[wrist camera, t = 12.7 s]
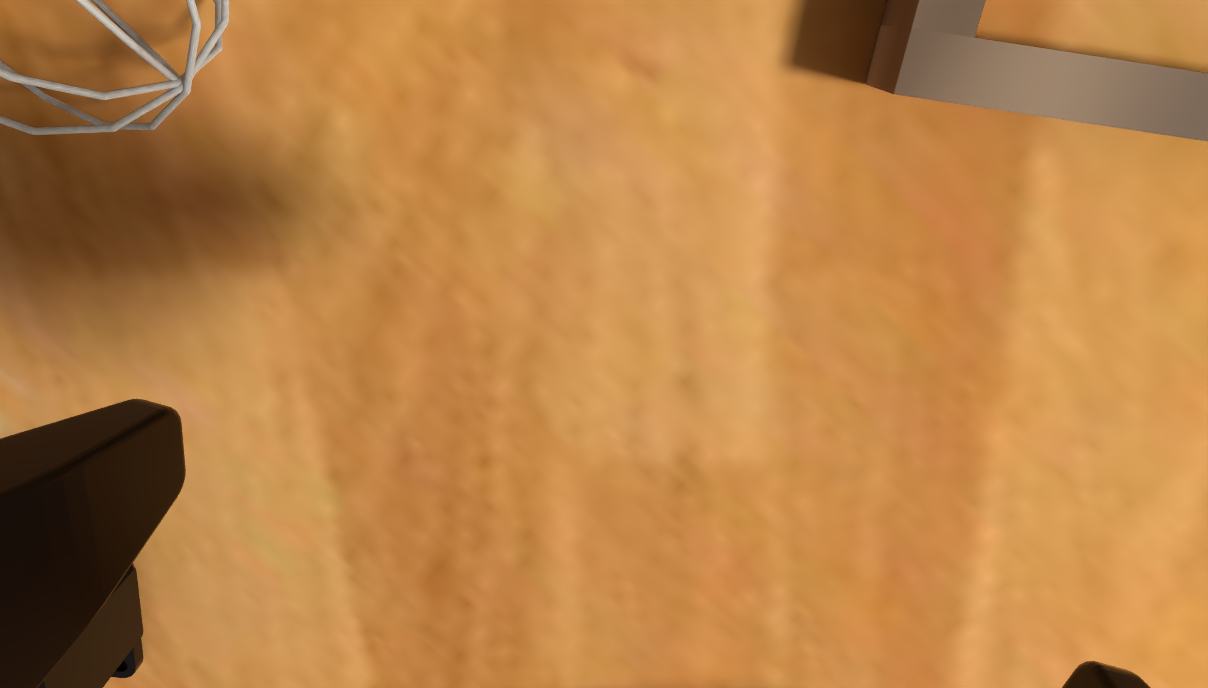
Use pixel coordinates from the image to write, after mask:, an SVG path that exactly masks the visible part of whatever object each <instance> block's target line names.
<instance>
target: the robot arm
mask: <svg viewBox="0 0 1208 688" xmlns="http://www.w3.org/2000/svg"><path fill="white" fill-rule="evenodd" d="M185 470H186V469H185V458H184V447H183V435H182V424H181V418H180V416H179V414H178V412H177V411H176V410H174V409H173V408H171V407H168V406H165V405H161V404H158V403H154V402H150V401H147V400H142V399H131V400H127V401H124V402H121V403H117V404H114V405H111V406H107V407H104V408H101V409H97V410H94V411H91V412H87V413H84V414H81V415H77V416H74V417H71V418H67V419H64V420H61V421H57V422H54V423H51V424H48V425H44V426H41V427H38V428H34V429H31V430H28V431H24V432H21V433H18V434H14V435H11V436H8V437H4V438H1V439H0V688H103V687H104V685H105V684H106V683H107V681H108V680H109V679H110V677H117V678H127V677H130V676H132V675H133V674H134V673H135V672H136V670H137V669H138V667H139V666H140V665H141V663H142V662H143V650H142V642H141V637H142V635H143V625H142V617H141V608H140V599H139V590H138V582H137V573H136V569H135V567H134V565H133V562H134V560H135V559H136V557H137V556H138V554H139V553H140V551H141V550H142V548H143V547H144V545H145V544H146V542H147V541H148V539H149V538H150V536H151V535H152V534H153V532H154V531H155V529H156V528H157V526H158V525H159V523H160V522H161V520H162V519H163V517H164V516H165V514H166V513H167V511H168V510H169V508H170V507H171V506H172V504H173V503H174V501H175V500H176V498H177V496H178V495H179V493H180V491H181V489H182V486H183V483H184V480H185ZM1062 688H1150V687H1149V686H1148V685H1147V684H1146V683H1145V682H1144V681H1143V680H1142V679H1141V678H1140V677H1139V676H1138V675H1136V674H1134V673H1132V672H1130V671H1128V670H1125V669H1121V668H1117V667H1114V666H1110V665H1107V664H1103V663H1099V662H1095V661H1087V662H1084V663H1082V664H1081V665H1079V666H1078V667H1077V668H1076V669H1075V671H1074V672H1073V673H1072V675H1071V676H1070V677H1069V679H1068V680H1067V681H1066V683H1065V684H1064V685H1063V687H1062Z"/></svg>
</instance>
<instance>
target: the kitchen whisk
mask: <svg viewBox="0 0 1208 688" xmlns="http://www.w3.org/2000/svg"><path fill="white" fill-rule="evenodd" d="M76 1H77V2H78V3H79V4H80V5H82V6H83V7H84V8H85V9H86V10H87V11H88V12H90V13H91V14H92V15H93V16H94V17H95V18H97V19H98V20H99V21H100V22H101V23H102V24H103V25H105V26H106V27H107V28H108V29H109V30H110V31H111V32H113V33H114V34H115V35H116V36H117V37H118V38H119V39H121V40H122V41H123V42H124V43H125V44H126V45H128V46H129V47H130V48H131V49H132V50H133V51H135V52H136V53H137V54H138V55H140V56H141V57H142V58H143V59H144V60H146V61H147V62H148V63H149V64H151V65H152V66H153V67H154V68H155V69H157V70H158V71H159V72H160V73H162V74H163V75H164V76H165V77H166V78H168V79H169V80H170V81H166V82H160V83H154V84H148V85H143V86H137V87H131V88H125V89H119V90H113V91H108V92H99V91H94V90H89V89H85V88H80V87H75V86H70V85H66V84H61V83H56V82H51V81H47V80H42V79H37V78H33V77H28V76H23V75H20V74H18V73H17V72H16V71H14V70H13V69H12V68H10V67H9V66H7V65H6V64H5V63H3V62H2V61H1V60H0V76H1V77H3V78H5V79H7V80H9V81H12V82H17V83H21V84H22V85H23V86H25V87H26V88H28V89H29V90H30V91H32V92H33V93H34V94H36V95H37V96H38V97H40V98H41V99H43V100H45V101H47V102H49V103H51V104H53V105H55V106H57V107H59V108H61V109H63V110H65V111H67V112H69V113H71V114H73V115H76V116H78V117H80V118H82V119H84V120H86V121H88V122H90V123H92V124H94V125H91V126H64V127H37V128H34V127H31V126H28V125H25V124H23V123H20V122H17V121H14V120H11V119H9V118H6V117H3V116H0V123H1V124H4V125H6V126H9V127H12V128H15V129H18V130H21V131H23V132H26V133H29V134H32V135H48V134H73V133H98V132H115V131H117V130H118V129H120V130H155V129H156V127H157V126H158V125H159V124H160V123H161V122H162V121H163V120H164V119H165V118H166V117H167V116H168V115H169V114H170V113H171V112H172V111H173V110H174V109H175V108H176V107H177V106H178V105H179V104H180V103H181V102H182V101H183V100H184V99H185V98H186V97H187V95H188V94H189V93H190V92H191V86H192V79H193V78H194V76H195V74H196V73H197V72H198V71H199V70H200V69H201V68H203V67H204V66H205V65H206V64H207V63H208V62H210V61H211V60H212V59H213V58H214V57H215V56H216V55H218V54H219V53H220V52H221V51H222V33H223V31H224V29H225V28H226V26H227V25H228V23H229V0H222V2H221V0H213V1H214V2H215V30H214V32H213V33H212V35H211V36H210V38H209V39H208V41H207V42H206V44H205V46H204V47H203V49H202V50H201V52H200V53H199V55H198V56H197V58H196V54H197V48H198V42H199V35H200V29H201V21H200V18H199V14H198V11H197V7H196V3H195V0H186V1H187V5H188V8H189V12H190V15H191V19H192V22H193V25H192V31H191V38H190V44H189V51H188V58H187V64H186V71H185V73H184V74H183V75H181V76H180V75H179V74H178V73H177V72H176V71H175V70H174V69H173V68H172V67H171V66H170V65H169V64H168V63H167V62H166V61H165V60H164V59H163V58H162V57H161V56H160V55H159V54H158V53H157V52H155V51H154V50H153V49H152V48H151V47H150V46H149V45H148V44H147V43H146V42H145V41H144V40H143V39H142V38H141V37H140V36H139V35H138V34H137V33H136V32H135V31H134V30H133V29H132V28H130V27H129V26H128V25H127V24H126V23H125V22H124V21H123V20H122V19H121V18H120V17H119V16H118V15H117V14H116V13H115V12H113V11H112V10H111V9H110V8H109V7H108V6H107V5H106V4H105V3H104V2H103V1H102V0H93V1H94V2H95V3H96V4H97V5H98V6H99V7H100V8H101V9H102V10H103V11H104V12H106V13H107V14H108V15H109V16H110V17H111V18H112V19H113V20H114V21H115V22H116V23H117V24H118V25H119V26H120V27H121V28H123V29H124V30H125V31H126V32H127V33H128V34H129V35H130V36H131V37H132V38H133V39H134V40H135V41H136V42H137V43H138V44H137V43H136V42H135V41H134V40H133V39H132V38H130V37H129V36H128V35H127V34H126V33H125V32H124V31H123V30H121V29H120V28H119V27H118V26H117V25H116V24H115V23H114V22H112V21H111V20H110V19H109V18H108V17H107V16H106V15H105V14H103V13H102V12H101V11H100V10H99V9H98V8H97V7H95V6H94V5H93V4H92V3H91V2H90V1H89V0H76ZM214 45H215V47H214ZM213 47H214V48H213ZM212 48H213V49H212ZM36 86H37V87H42V88H47V89H51V90H56V91H61V92H66V93H71V94H76V95H81V96H86V97H90V98H95V99H100V100H109V99H115V98H120V97H126V96H131V95H137V94H143V93H148V92H154V91H159V90H165V89H171V88H172V89H171V90H169V91H167V92H165V93H164V94H162V95H160V96H159V97H157V98H155V99H154V100H152V101H150V102H149V103H147V104H145V105H143V106H142V107H140V108H138V109H137V110H135V111H133V112H132V113H130V114H128V115H127V116H125V117H123V118H121V119H120V120H118V121H116V122H115V123H105V122H103V121H101V120H98V119H96V118H94V117H92V116H90V115H88V114H86V113H84V112H82V111H80V110H78V109H76V108H74V107H72V106H70V105H68V104H65V103H63V102H61V101H59V100H57V99H55V98H53V97H51V96H49V95H47V94H45V93H44V92H43V91H41V90H40V89H39V88H37V87H36ZM176 95H177V96H176ZM174 96H176V97H175V98H174V99H173V100H172V101H171V102H170V103H169V104H168V105H167V106H166V107H165V108H164V109H163V110H162V111H161V112H160V113H159V114H158V116H157V117H156V118H155V119H154V120H153V121H152V122H151V123H130V122H132V121H134V120H135V119H137V118H139V117H140V116H142V115H144V114H145V113H147V112H149V111H151V110H152V109H154V108H156V107H157V106H159V105H161V104H162V103H164V102H166V101H167V100H169V99H171V98H172V97H174Z"/></svg>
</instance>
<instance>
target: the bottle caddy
mask: <svg viewBox="0 0 1208 688" xmlns="http://www.w3.org/2000/svg"><path fill="white" fill-rule="evenodd" d="M985 1H986V0H887V3H886V7H885V11H884V15H883V19H882V22H881V26H880V30H879V34H878V38H877V42H876V46H875V50H874V54H873V57H872V61H871V65H870V69H869V73H868V77H867V81H866V85H869V86H872V87H875V88H878V89H881V90H883V91H886V92H889V93H892V94H896V95H903V96H910V97H916V98H923V99H930V100H936V101H943V102H949V103H956V104H963V105H969V106H976V107H983V108H989V109H996V110H1003V111H1009V112H1016V113H1023V114H1029V115H1036V116H1043V117H1049V118H1056V119H1063V120H1069V121H1076V122H1083V123H1089V124H1096V125H1103V126H1109V127H1116V128H1123V129H1129V130H1136V131H1143V132H1149V133H1156V134H1162V135H1169V136H1176V137H1182V138H1189V139H1196V140H1202V141H1208V73H1203V72H1196V71H1189V70H1183V69H1176V68H1170V67H1163V66H1157V65H1150V64H1144V63H1137V62H1131V61H1124V60H1117V59H1111V58H1104V57H1098V56H1091V55H1085V54H1078V53H1072V52H1065V51H1059V50H1052V49H1046V48H1039V47H1032V46H1026V45H1019V44H1013V43H1006V42H1000V41H993V40H987V39H980V38H974V37H975V34H976V30H977V27H978V24H979V20H980V17H981V14H982V10H983V7H984V4H985Z"/></svg>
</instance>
